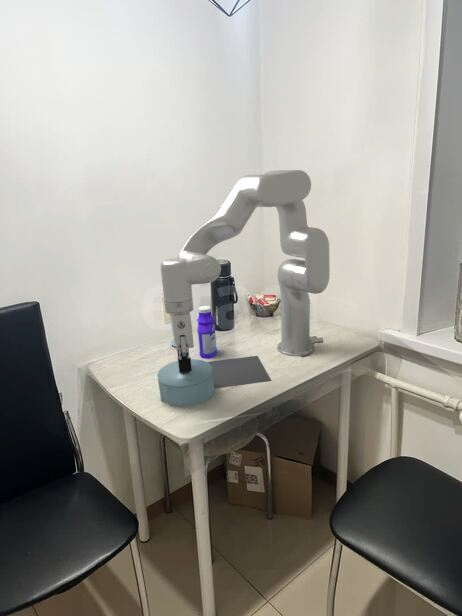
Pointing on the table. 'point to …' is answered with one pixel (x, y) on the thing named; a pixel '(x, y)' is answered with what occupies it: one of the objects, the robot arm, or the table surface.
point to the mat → (238, 372)
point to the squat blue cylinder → (186, 383)
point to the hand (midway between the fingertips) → (184, 364)
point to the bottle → (206, 333)
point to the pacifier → (173, 345)
